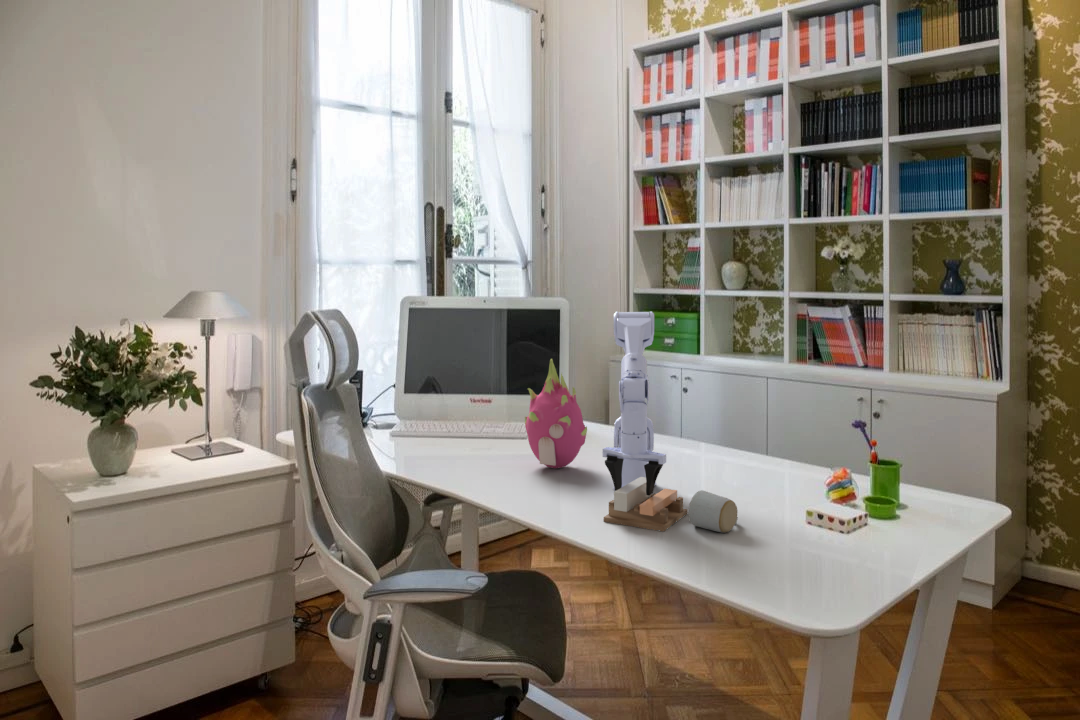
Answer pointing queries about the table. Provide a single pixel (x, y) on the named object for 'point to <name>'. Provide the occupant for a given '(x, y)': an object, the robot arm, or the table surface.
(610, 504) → the slotted wooden stand
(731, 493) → the table surface
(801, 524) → the table surface
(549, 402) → the pink dragon fruit
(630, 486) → the pale grey bar
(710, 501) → the grey cylinder
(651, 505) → the fired strip
